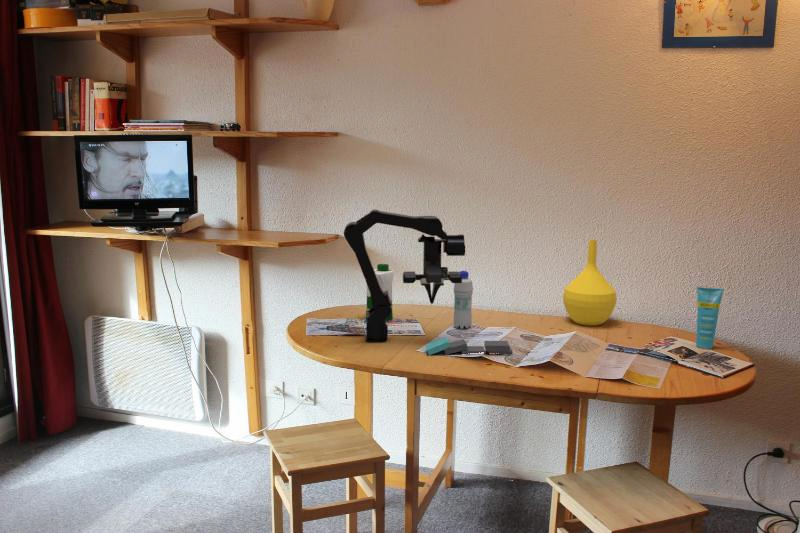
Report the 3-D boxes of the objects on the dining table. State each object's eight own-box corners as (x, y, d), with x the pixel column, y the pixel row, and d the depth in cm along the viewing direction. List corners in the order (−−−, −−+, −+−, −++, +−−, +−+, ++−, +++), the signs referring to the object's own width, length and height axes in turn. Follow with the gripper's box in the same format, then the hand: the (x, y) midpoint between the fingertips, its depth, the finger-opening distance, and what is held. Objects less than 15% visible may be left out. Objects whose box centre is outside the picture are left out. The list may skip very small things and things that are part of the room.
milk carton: (396, 319, 244) (396, 265, 241) (379, 324, 238) (379, 268, 234) (378, 315, 250) (378, 262, 246) (361, 320, 243) (361, 265, 240)
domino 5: (489, 350, 205) (512, 351, 205) (487, 345, 210) (509, 346, 210) (489, 356, 205) (512, 356, 205) (486, 351, 210) (509, 351, 210)
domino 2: (444, 349, 204) (466, 343, 205) (441, 344, 209) (463, 338, 209) (445, 355, 205) (467, 349, 205) (442, 350, 209) (464, 344, 210)
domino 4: (486, 345, 204) (509, 345, 204) (484, 340, 209) (507, 340, 209) (486, 351, 205) (509, 351, 204) (484, 346, 209) (506, 346, 209)
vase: (625, 324, 240) (631, 241, 235) (591, 332, 230) (596, 245, 224) (585, 313, 255) (589, 234, 249) (551, 320, 245) (555, 238, 239)
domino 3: (462, 351, 204) (485, 351, 205) (460, 346, 209) (483, 346, 209) (461, 356, 205) (484, 356, 205) (460, 351, 210) (482, 351, 210)
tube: (692, 347, 213) (698, 288, 209) (691, 343, 217) (696, 285, 214) (718, 350, 211) (724, 289, 207) (716, 345, 215) (722, 286, 212)
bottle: (471, 330, 231) (472, 273, 227) (451, 329, 232) (452, 272, 229) (473, 325, 238) (474, 269, 234) (454, 324, 239) (455, 268, 235)
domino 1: (427, 350, 204) (448, 341, 204) (425, 345, 209) (446, 336, 209) (429, 355, 204) (450, 346, 204) (427, 350, 209) (448, 341, 209)
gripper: (404, 260, 207) (403, 309, 210) (464, 260, 208) (463, 309, 211) (402, 254, 218) (402, 301, 221) (460, 254, 219) (459, 301, 222)
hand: (431, 303), depth 219 cm, fingers closed
